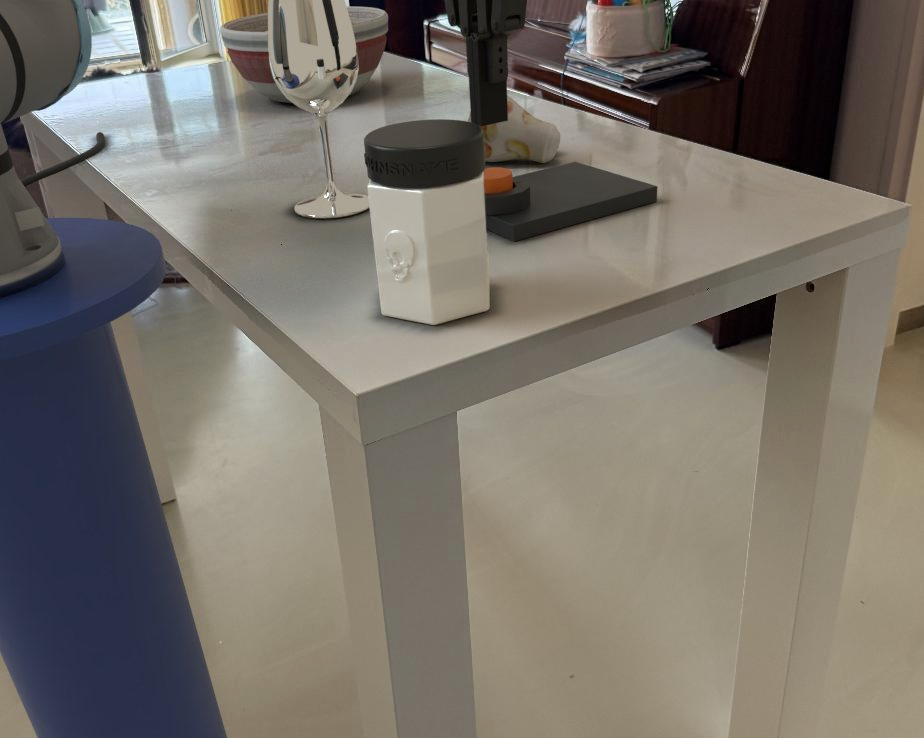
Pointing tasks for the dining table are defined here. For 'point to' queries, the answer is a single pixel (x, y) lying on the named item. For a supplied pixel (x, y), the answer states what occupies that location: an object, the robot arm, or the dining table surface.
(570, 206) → the scale
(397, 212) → the jar
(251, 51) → the bowl
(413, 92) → the dining table surface
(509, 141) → the fruit sandwich
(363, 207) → the wineglass
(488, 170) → the button
